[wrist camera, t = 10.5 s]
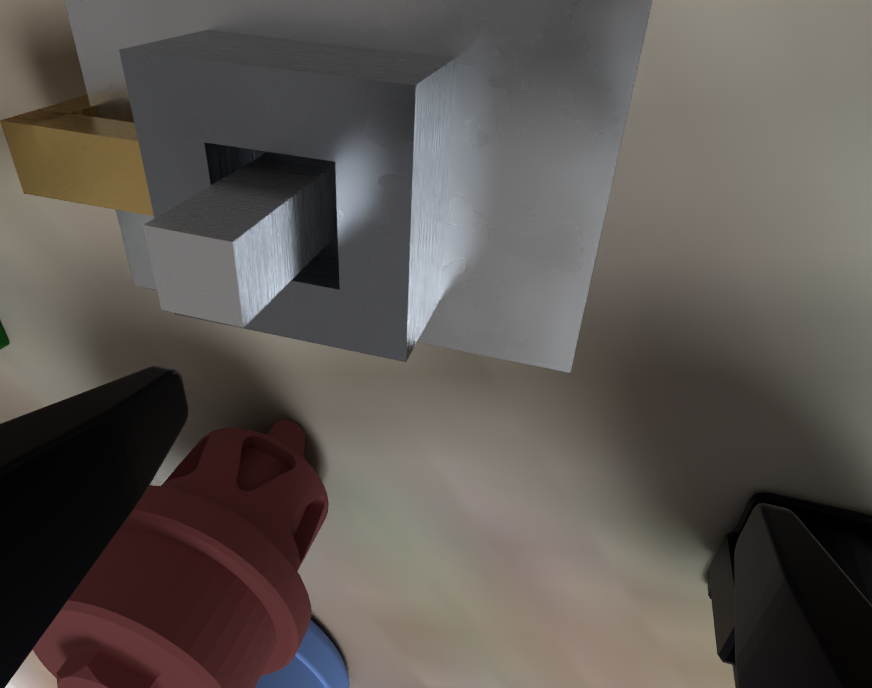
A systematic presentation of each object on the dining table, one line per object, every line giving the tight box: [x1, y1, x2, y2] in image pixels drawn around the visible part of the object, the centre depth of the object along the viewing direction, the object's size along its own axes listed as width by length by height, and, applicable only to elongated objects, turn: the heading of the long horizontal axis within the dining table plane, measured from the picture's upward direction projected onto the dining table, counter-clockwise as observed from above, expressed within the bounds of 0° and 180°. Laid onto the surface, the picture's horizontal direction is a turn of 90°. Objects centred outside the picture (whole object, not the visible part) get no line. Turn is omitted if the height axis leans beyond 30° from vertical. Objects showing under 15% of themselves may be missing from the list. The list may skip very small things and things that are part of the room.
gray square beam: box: [143, 152, 338, 328], centre depth 18 cm, size 2×2×8 cm
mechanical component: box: [33, 419, 328, 688], centre depth 26 cm, size 12×10×10 cm
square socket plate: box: [0, 0, 652, 373], centre depth 20 cm, size 19×12×5 cm, turn 87°
